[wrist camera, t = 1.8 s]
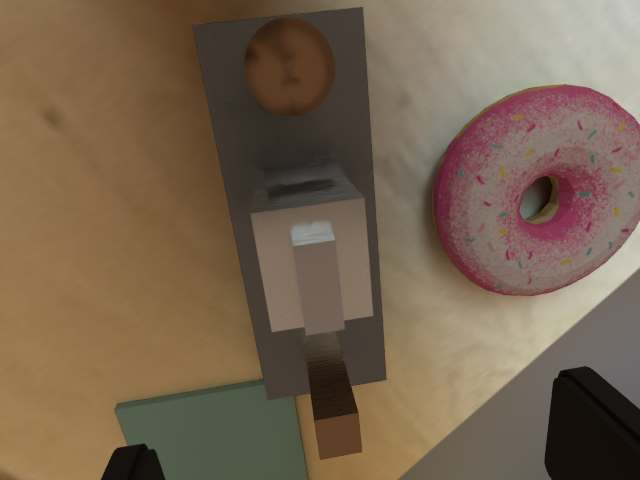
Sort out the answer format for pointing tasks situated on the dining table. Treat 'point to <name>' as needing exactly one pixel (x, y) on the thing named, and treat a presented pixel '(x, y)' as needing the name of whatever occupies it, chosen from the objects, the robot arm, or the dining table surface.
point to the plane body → (296, 168)
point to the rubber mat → (219, 433)
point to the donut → (521, 171)
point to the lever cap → (313, 254)
